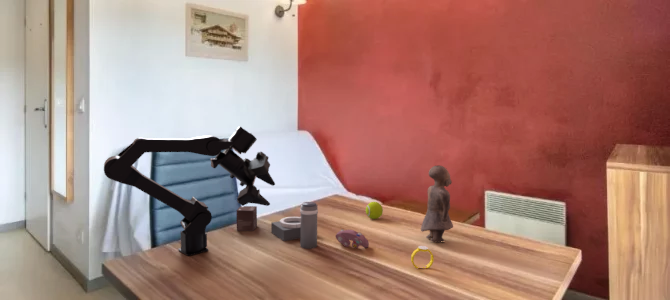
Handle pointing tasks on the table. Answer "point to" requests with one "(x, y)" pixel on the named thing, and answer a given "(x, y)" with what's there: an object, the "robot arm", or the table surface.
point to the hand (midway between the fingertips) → (271, 194)
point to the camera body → (287, 228)
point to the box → (247, 218)
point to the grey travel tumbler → (308, 225)
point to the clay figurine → (438, 205)
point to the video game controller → (352, 238)
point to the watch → (424, 249)
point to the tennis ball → (374, 210)
